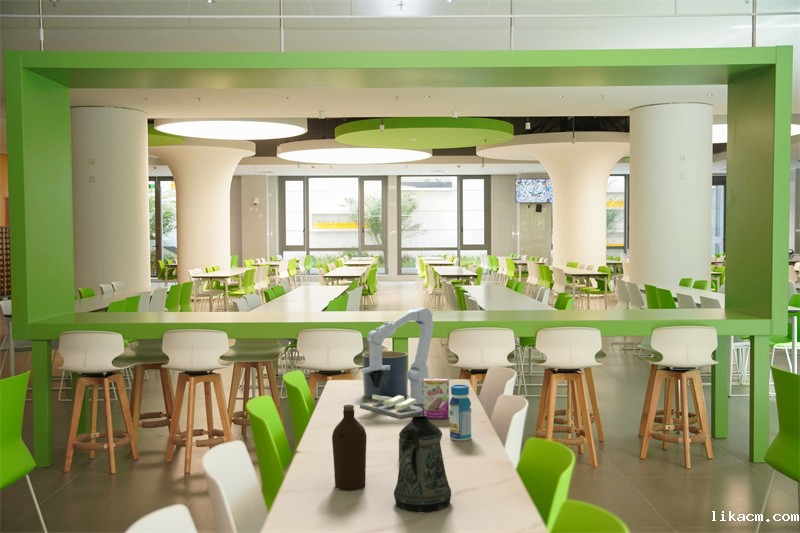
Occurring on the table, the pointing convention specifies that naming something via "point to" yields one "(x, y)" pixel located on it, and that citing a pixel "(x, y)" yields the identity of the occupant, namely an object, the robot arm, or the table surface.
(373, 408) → the switch unit
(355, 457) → the olive oil
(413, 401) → the rocker
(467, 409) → the beverage bottle
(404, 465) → the beer stein
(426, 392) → the candy bar box
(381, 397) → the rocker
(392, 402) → the block
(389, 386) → the planter
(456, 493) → the table surface
